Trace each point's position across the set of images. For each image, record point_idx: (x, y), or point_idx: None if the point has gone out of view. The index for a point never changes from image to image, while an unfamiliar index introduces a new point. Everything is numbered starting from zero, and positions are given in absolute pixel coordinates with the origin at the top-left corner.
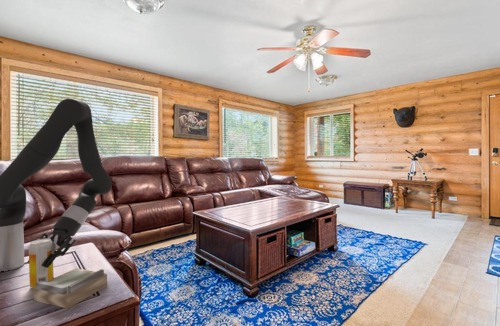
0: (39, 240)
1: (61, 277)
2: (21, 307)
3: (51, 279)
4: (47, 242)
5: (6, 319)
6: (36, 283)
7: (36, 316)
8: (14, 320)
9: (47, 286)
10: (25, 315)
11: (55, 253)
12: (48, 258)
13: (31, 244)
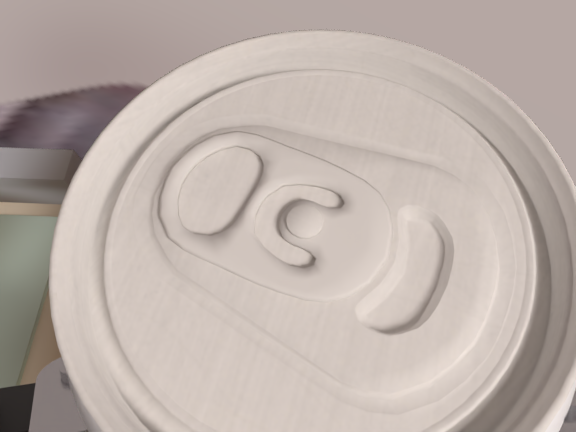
0: (514, 317)
1: (16, 361)
2: None
3: None
4: (65, 256)
5: (140, 87)
6: (69, 152)
7: (3, 134)
8: (91, 92)
9: None
10: (72, 126)
11: (29, 389)
12: None
13: (332, 40)
